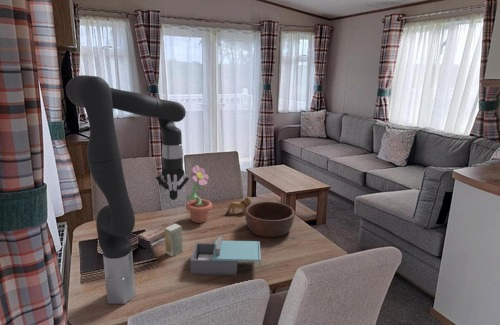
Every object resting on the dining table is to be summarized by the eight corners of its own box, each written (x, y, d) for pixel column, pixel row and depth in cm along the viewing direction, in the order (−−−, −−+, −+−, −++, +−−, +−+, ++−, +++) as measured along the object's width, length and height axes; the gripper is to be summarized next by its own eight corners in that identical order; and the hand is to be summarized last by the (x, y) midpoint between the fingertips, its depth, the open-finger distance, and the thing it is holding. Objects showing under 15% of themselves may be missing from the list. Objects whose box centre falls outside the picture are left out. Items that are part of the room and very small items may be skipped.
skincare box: (176, 247, 152) (175, 222, 148) (183, 251, 149) (182, 225, 146) (164, 253, 147) (163, 227, 144) (171, 257, 144) (170, 230, 141)
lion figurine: (249, 209, 196) (250, 195, 193) (252, 213, 191) (252, 198, 188) (224, 212, 191) (225, 197, 189) (227, 216, 186) (227, 200, 184)
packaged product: (162, 220, 168) (176, 226, 163) (163, 229, 170) (176, 235, 164) (131, 233, 154) (145, 240, 149) (132, 243, 155) (146, 250, 150)
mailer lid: (260, 265, 131) (261, 252, 130) (211, 264, 131) (211, 251, 130) (259, 246, 145) (259, 235, 144) (215, 245, 145) (215, 234, 144)
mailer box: (236, 274, 133) (236, 261, 131) (190, 273, 133) (190, 260, 131) (237, 256, 146) (238, 243, 145) (196, 255, 146) (196, 242, 144)
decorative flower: (199, 229, 170) (198, 172, 162) (179, 222, 177) (177, 167, 169) (217, 218, 183) (217, 165, 175) (197, 212, 189) (196, 161, 182)
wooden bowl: (296, 222, 181) (298, 204, 178) (289, 244, 158) (290, 224, 155) (251, 216, 187) (252, 198, 185) (238, 236, 164) (238, 216, 161)
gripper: (151, 157, 123) (154, 202, 127) (188, 158, 123) (189, 203, 127) (157, 152, 130) (159, 195, 134) (191, 153, 130) (192, 196, 134)
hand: (173, 199), depth 131 cm, fingers closed
